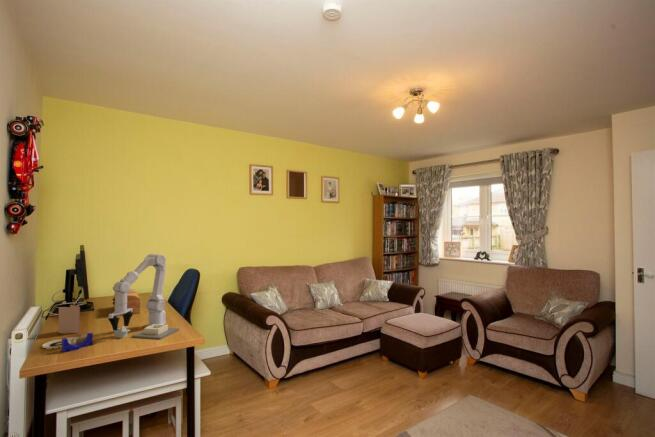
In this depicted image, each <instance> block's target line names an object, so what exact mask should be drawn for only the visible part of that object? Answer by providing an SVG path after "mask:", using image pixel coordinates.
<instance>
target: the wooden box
mask: <svg viewBox="0 0 655 437" xmlns="http://www.w3.org/2000/svg"><path fill="white" fill-rule="evenodd" d="M113 296H114V297H113V298H112V301H113V302H112V305H113V309H114V311H115V293H114V295H113ZM128 308H133V315H135V314H136V315H137V314H140V313H141V299H140V296H139V294H138V292H137V291H136V289H133V288H130V289H129V291H127V309H128ZM114 311H113V312H114ZM121 316H122V317H123V315H119V316H118V317H121Z"/></svg>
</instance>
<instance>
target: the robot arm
mask: <svg viewBox="0 0 655 437" xmlns="http://www.w3.org/2000/svg"><path fill="white" fill-rule="evenodd" d="M166 260H167V258H166V256H164V254H161V253H160V254H159V253H158V254H156V253H149V254H147V255H146V256H145V257H144V259H143V261H142V262H140V264H138V266H136V268H135V269H134V270H133V271H128V272H127V273H126V274H125V276H124V277H123V278H121V279H120V280H119V281H117V282H115V283H114V284H113V287H112V291H114V294H115V311H113V312H112V313H109V314H108V318H107V319H108V321H109V322H110V326H111V327H112V330H117V329H118V328H119V321H120V316H119V315H122V318H123V325H124V327H129V326H130V325H129V324H130V321H131V318H132V316H133V315H134V314H133V308H128V309H127V291H129V289H131V287H132V284H134V283H135V282H136V281H137V280H138V279H139V275H140V274H141V273H143V272H144V271H145V270H146V269H147V268H148V267H151V266H152V267H153V268H154V269H155V274H154V279H153V280H154V281H153V287H152V292H151V295H150V296H149V297H148V300H147V302H146V305H145V308H146V309H147V310H148V325H145V327H144V328H146V327H148V326H151V325H153V324H162V325H167V324H168V322H167V320H166V319H167V317H166V315H167V312H166V311H165V310H164V309H165V307H166V303H165V297H164V296H163V289H164V284H165V283H164V282H165V278H166V277H165V276H166V271H167V264H166Z"/></svg>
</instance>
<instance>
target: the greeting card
mask: <svg viewBox="0 0 655 437" xmlns="http://www.w3.org/2000/svg"><path fill="white" fill-rule="evenodd" d="M80 312H81V306H77V305H74V304H69V306H68V307H67V306H61V307H60V306H59V307H58V333H62V334H80V320H81V318H80Z"/></svg>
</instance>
